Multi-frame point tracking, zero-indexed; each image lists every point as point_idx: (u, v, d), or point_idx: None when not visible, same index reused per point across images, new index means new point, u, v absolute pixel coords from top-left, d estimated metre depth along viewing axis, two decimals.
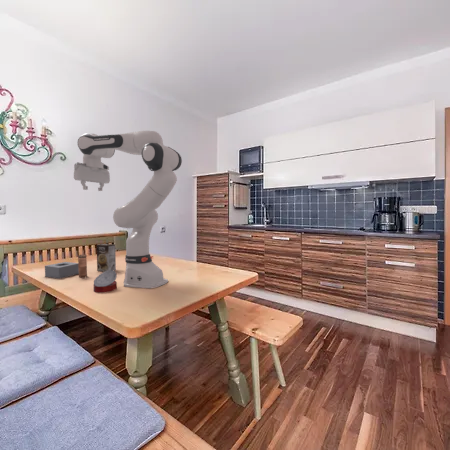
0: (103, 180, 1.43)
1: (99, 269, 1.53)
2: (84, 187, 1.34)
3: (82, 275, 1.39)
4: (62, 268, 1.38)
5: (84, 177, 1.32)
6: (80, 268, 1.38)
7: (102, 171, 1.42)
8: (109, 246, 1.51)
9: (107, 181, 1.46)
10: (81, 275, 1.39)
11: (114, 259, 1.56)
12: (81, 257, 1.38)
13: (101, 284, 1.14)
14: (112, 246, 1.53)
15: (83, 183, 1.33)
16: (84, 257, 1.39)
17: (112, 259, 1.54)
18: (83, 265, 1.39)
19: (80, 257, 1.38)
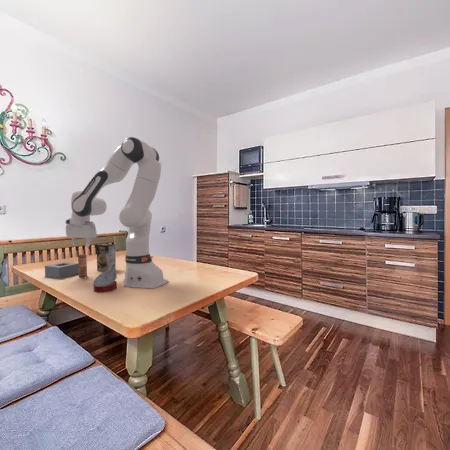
0: None
1: (99, 269, 1.53)
2: (88, 244, 1.38)
3: (82, 275, 1.39)
4: (62, 268, 1.38)
5: None
6: (80, 268, 1.38)
7: None
8: (109, 246, 1.51)
9: None
10: (81, 275, 1.39)
11: (114, 259, 1.56)
12: (81, 257, 1.38)
13: (101, 284, 1.14)
14: (112, 246, 1.53)
15: (90, 240, 1.38)
16: (84, 257, 1.39)
17: (112, 259, 1.54)
18: (83, 265, 1.39)
19: (80, 257, 1.38)
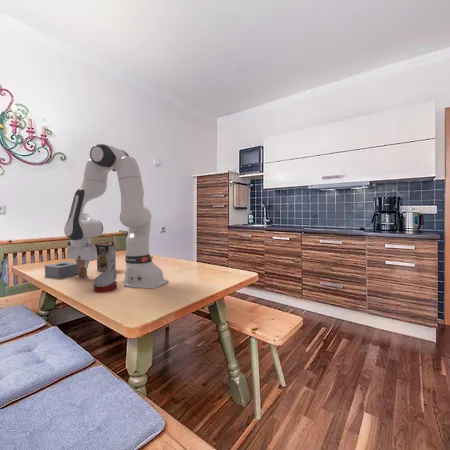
0: None
1: (99, 269, 1.53)
2: (87, 266, 1.39)
3: (82, 275, 1.39)
4: (62, 268, 1.38)
5: None
6: (80, 268, 1.38)
7: None
8: (109, 246, 1.51)
9: None
10: (81, 275, 1.39)
11: (114, 259, 1.56)
12: None
13: (101, 284, 1.14)
14: (112, 246, 1.53)
15: None
16: None
17: (112, 259, 1.54)
18: (83, 265, 1.39)
19: None
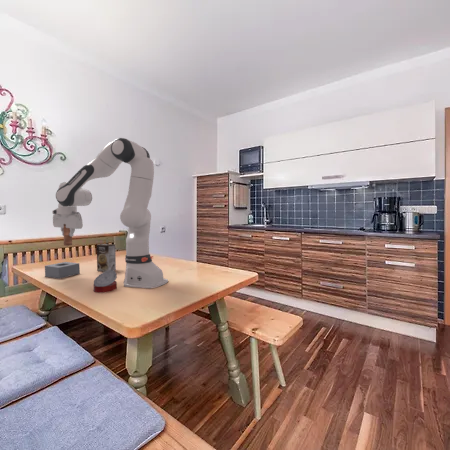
0: None
1: (99, 269, 1.53)
2: (72, 234, 1.41)
3: (67, 243, 1.40)
4: (62, 268, 1.38)
5: None
6: (65, 236, 1.40)
7: None
8: (109, 246, 1.51)
9: None
10: (66, 243, 1.40)
11: (114, 259, 1.56)
12: None
13: (101, 284, 1.14)
14: (112, 246, 1.53)
15: (74, 230, 1.41)
16: None
17: (112, 259, 1.54)
18: (68, 233, 1.40)
19: (65, 225, 1.40)
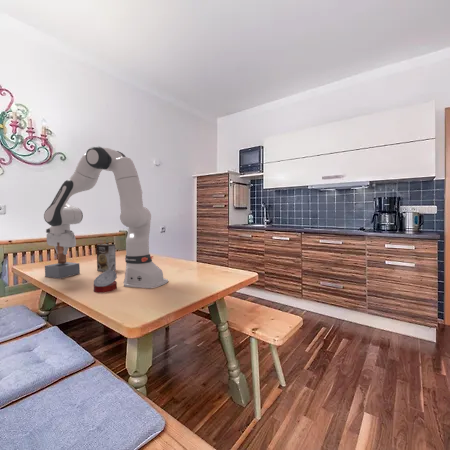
0: None
1: (99, 269, 1.53)
2: (66, 252, 1.42)
3: (61, 261, 1.42)
4: (62, 268, 1.38)
5: None
6: (59, 254, 1.42)
7: None
8: (109, 246, 1.51)
9: None
10: (60, 261, 1.42)
11: (114, 259, 1.56)
12: None
13: (101, 284, 1.14)
14: (112, 246, 1.53)
15: (67, 248, 1.42)
16: None
17: (112, 259, 1.54)
18: (62, 251, 1.42)
19: None
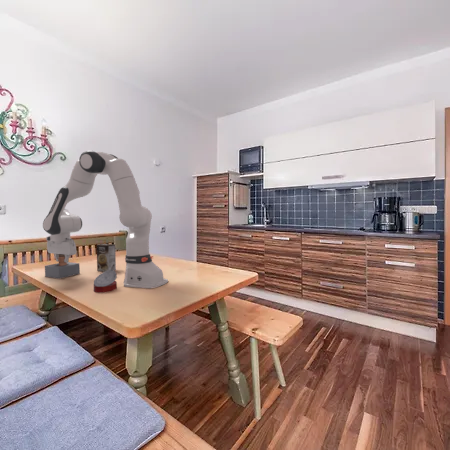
0: None
1: (99, 269, 1.53)
2: (67, 260, 1.42)
3: None
4: (62, 268, 1.38)
5: None
6: None
7: None
8: (109, 246, 1.51)
9: None
10: None
11: (114, 259, 1.56)
12: (61, 256, 1.41)
13: (101, 284, 1.14)
14: (112, 246, 1.53)
15: (69, 256, 1.42)
16: (64, 256, 1.42)
17: (112, 259, 1.54)
18: (63, 263, 1.42)
19: (60, 256, 1.41)
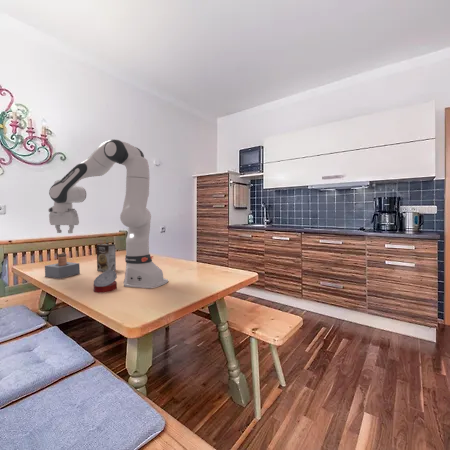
0: None
1: (99, 269, 1.53)
2: (71, 231, 1.42)
3: None
4: (62, 268, 1.38)
5: None
6: None
7: None
8: (109, 246, 1.51)
9: None
10: None
11: (114, 259, 1.56)
12: (61, 256, 1.42)
13: (101, 284, 1.14)
14: (112, 246, 1.53)
15: (73, 227, 1.42)
16: (64, 256, 1.43)
17: (112, 259, 1.54)
18: (63, 263, 1.42)
19: (60, 256, 1.42)
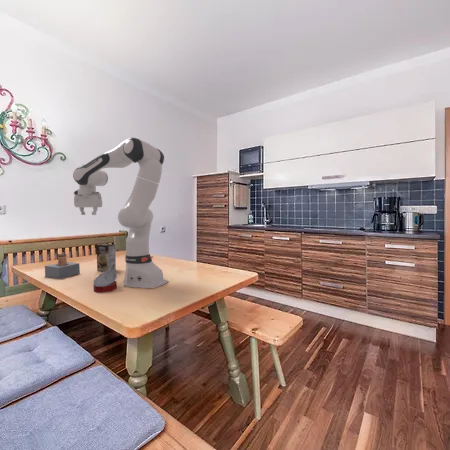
0: None
1: (99, 269, 1.53)
2: (95, 213, 1.51)
3: None
4: (62, 268, 1.38)
5: None
6: None
7: None
8: (109, 246, 1.51)
9: None
10: None
11: (114, 259, 1.56)
12: (61, 256, 1.42)
13: (101, 284, 1.14)
14: (112, 246, 1.53)
15: (96, 209, 1.51)
16: (64, 256, 1.43)
17: (112, 259, 1.54)
18: (63, 263, 1.42)
19: (60, 256, 1.42)
